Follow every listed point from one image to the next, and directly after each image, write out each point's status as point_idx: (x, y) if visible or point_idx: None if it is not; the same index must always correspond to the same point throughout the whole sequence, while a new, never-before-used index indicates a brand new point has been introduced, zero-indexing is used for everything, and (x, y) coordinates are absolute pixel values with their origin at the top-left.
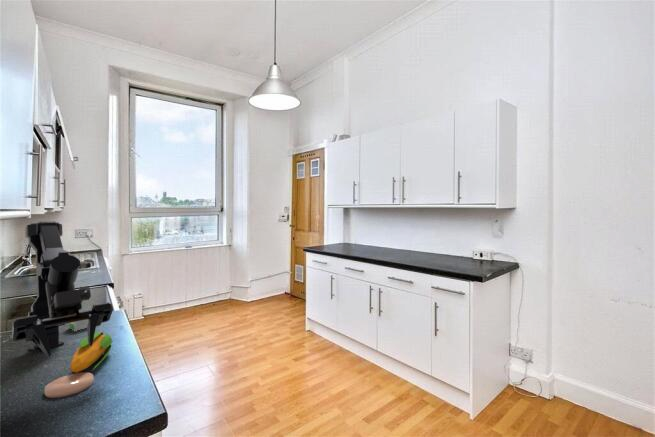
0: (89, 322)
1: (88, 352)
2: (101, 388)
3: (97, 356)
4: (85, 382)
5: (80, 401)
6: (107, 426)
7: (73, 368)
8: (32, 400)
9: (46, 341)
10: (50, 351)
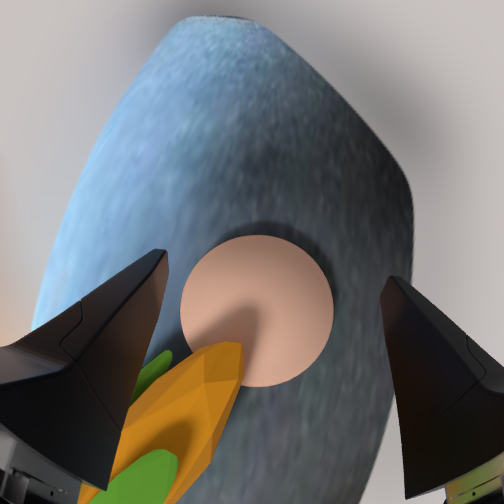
0: (65, 414)
1: (152, 414)
2: (194, 201)
3: None
4: (223, 253)
5: (266, 171)
6: (262, 37)
7: (239, 345)
8: (357, 309)
9: (446, 335)
10: (398, 284)
